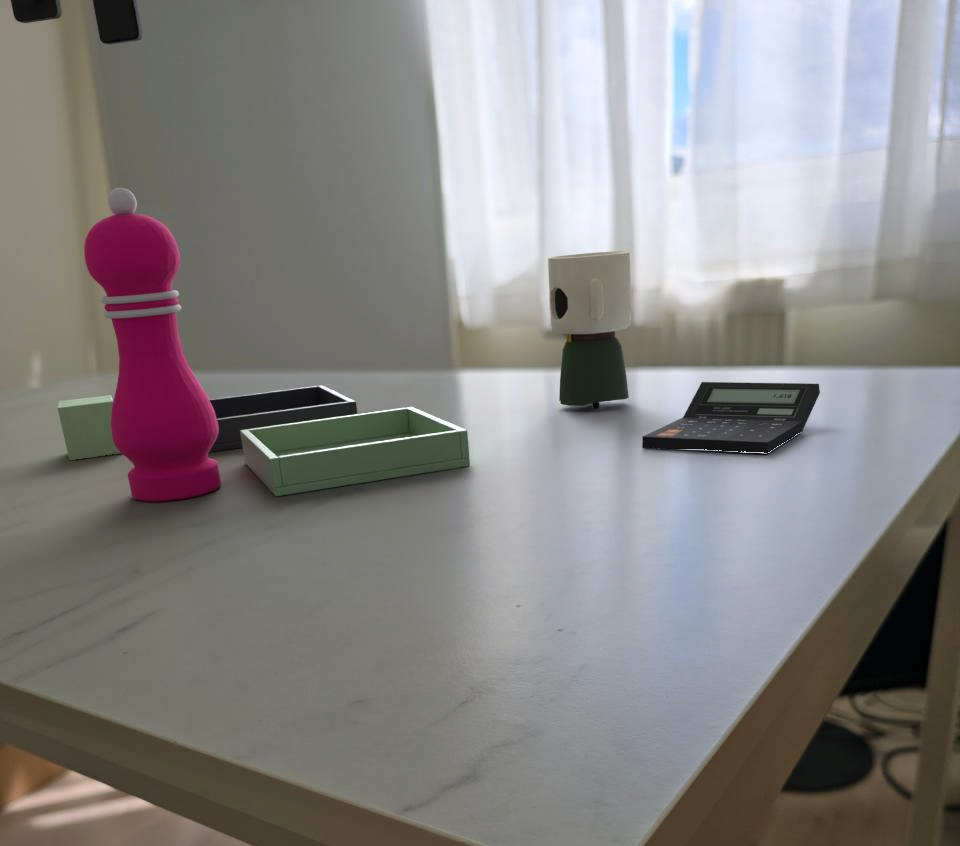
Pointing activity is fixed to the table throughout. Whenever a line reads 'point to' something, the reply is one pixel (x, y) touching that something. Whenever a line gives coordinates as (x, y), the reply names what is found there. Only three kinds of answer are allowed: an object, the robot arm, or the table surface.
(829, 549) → the table surface
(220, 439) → the dark tray
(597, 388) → the character mug
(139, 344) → the pepper mill
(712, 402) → the calculator
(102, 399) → the sage block
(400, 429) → the sage tray
